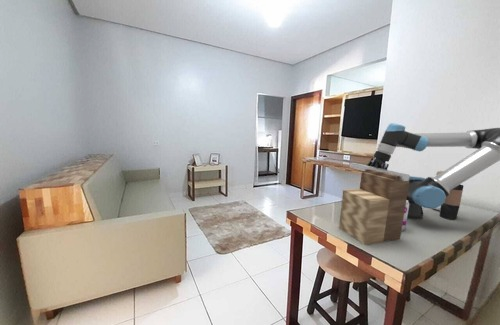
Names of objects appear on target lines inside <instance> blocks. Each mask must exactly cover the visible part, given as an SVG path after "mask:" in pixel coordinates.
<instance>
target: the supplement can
mask: <svg viewBox="0 0 500 325" xmlns="http://www.w3.org/2000/svg"><path fill="white" fill-rule="evenodd" d="M408 210H409V202H408V200H406V206H405V212H404V218H403V224H402V230H401V232H404V230H406V226H407V222H408V218H407V216H408Z"/></svg>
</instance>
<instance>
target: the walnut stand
mask: <svg viewBox="0 0 500 325" xmlns="http://www.w3.org/2000/svg"><path fill="white" fill-rule="evenodd" d="M398 178H399V176H395V175H391V174H386V173H382V172H378V171H374V170H369V169H365V172H363V171H361V175H360V180H361V182H360V181H359V182H360V184H359V188H354V189H352V188H351V189H343V190H342V196H341V197H342V198H341V206H340V215H339V223H338V228H339V229H340V230H342V231H344V232H345V233H347V235H349V236H351V237H353V238H354V239H355V240H357V241H358V242H360V243H362V244H363V245H365V246H367V245H372V244H378V243H379V244H380V243H384V242H390V241H396V240H397V241H398V240H400V239H401V235H402V231H401V230H402V224H403V218H404V212H405V206H406V200H407V193H408V187H409V181H410V179H409V181H401V180H398Z"/></svg>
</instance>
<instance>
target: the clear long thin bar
mask: <svg viewBox="0 0 500 325" xmlns="http://www.w3.org/2000/svg"><path fill="white" fill-rule="evenodd" d="M366 165H367V164H361V163H357V162H350V163H349V168H351V169H354V170H357V171H361V172H363V171H365V169H369V170H374V171H378V172H382V173H386V174H391V175H395V176H399V178H398V180H401V181H409V176H411V175H410V174H407V173H402V172H398V171H393V170H389V169H387V170H385V169H380V168H376V167H371V166H366Z"/></svg>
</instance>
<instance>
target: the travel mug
mask: <svg viewBox="0 0 500 325" xmlns="http://www.w3.org/2000/svg"><path fill="white" fill-rule="evenodd" d="M464 186H465V185H463V184H460V185H458V186H456V187H455V188H453V189H451V190H450V193H449V195H448V196H447V197H446V199H445V202H444V203H443V204H442V205H441V208H440V210H439V217H440V218H443V219H446V220H449V221H456V220H457V218H458V214H459V210H460V206H461V202H462V201H461V200H462V197H463V192H464Z"/></svg>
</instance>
